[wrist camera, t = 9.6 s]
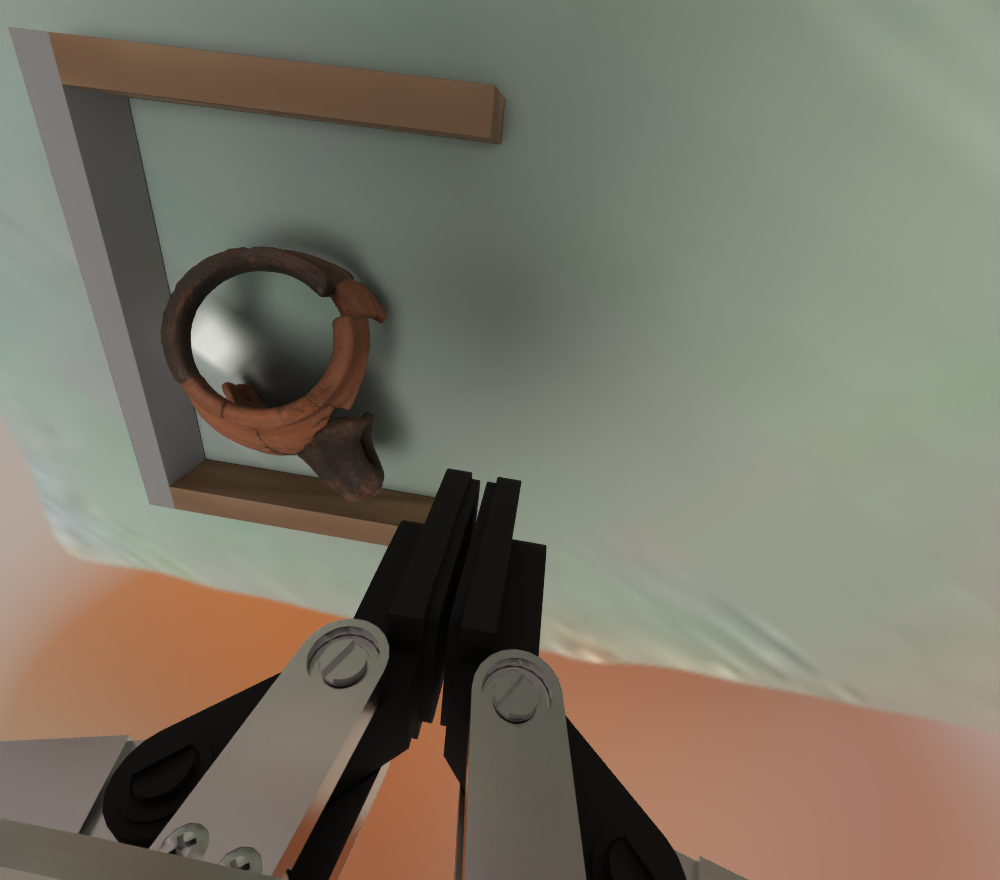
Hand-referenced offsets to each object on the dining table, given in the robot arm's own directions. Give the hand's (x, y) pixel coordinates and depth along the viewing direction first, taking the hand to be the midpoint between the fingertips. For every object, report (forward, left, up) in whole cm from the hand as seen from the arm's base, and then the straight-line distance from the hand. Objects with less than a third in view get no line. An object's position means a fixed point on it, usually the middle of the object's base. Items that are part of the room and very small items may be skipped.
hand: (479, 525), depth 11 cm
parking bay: (+1, -10, -14) cm, 17 cm away
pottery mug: (+3, -10, -14) cm, 18 cm away
